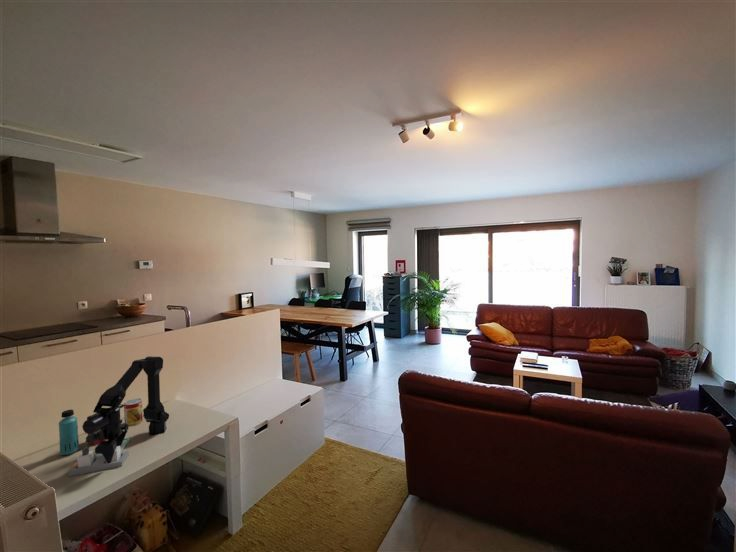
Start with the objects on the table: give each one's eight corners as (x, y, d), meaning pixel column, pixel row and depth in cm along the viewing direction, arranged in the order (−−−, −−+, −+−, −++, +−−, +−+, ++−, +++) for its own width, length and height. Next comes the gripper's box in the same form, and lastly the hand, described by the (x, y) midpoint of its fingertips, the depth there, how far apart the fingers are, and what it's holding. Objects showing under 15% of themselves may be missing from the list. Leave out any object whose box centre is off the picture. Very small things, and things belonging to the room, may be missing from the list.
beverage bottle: (62, 460, 141) (60, 415, 140) (57, 455, 144) (55, 412, 144) (81, 452, 146) (79, 409, 146) (76, 448, 150) (74, 406, 149)
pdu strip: (128, 456, 143) (128, 450, 143) (122, 467, 136) (121, 460, 136) (78, 465, 137) (78, 458, 137) (68, 477, 130) (68, 470, 129)
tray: (105, 443, 154) (105, 440, 154) (130, 439, 157) (130, 436, 157) (93, 458, 142) (93, 456, 142) (120, 454, 145) (120, 451, 145)
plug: (120, 458, 141) (120, 440, 140) (117, 464, 137) (116, 445, 137) (109, 460, 139) (109, 442, 139) (105, 466, 136) (105, 447, 135)
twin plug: (94, 463, 137) (93, 444, 137) (90, 469, 134) (89, 449, 133) (82, 465, 136) (81, 446, 136) (78, 471, 132) (77, 451, 132)
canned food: (145, 422, 174) (144, 400, 174) (127, 428, 168) (126, 405, 167) (139, 418, 179) (138, 397, 178) (122, 423, 172) (121, 402, 172)
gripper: (98, 414, 143) (99, 448, 144) (77, 436, 126) (79, 474, 126) (128, 410, 147) (129, 443, 148) (112, 430, 130) (113, 468, 130)
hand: (113, 456), depth 138 cm, fingers open, 9 cm apart
